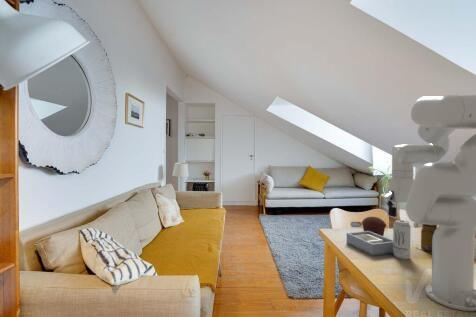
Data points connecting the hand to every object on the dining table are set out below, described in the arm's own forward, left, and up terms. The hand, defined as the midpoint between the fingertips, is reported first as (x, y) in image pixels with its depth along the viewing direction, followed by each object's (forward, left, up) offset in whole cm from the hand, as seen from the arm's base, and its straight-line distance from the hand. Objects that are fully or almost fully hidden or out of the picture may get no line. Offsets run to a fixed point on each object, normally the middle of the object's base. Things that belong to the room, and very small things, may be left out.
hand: (401, 215), depth 106 cm
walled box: (+12, +5, -18) cm, 22 cm away
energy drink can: (0, 0, -18) cm, 18 cm away
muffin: (+25, -10, -18) cm, 32 cm away
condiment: (+2, -19, -18) cm, 26 cm away
